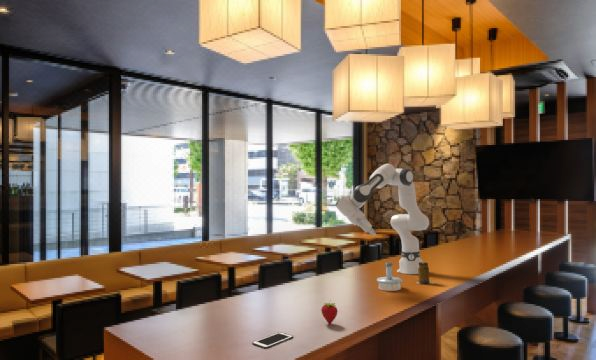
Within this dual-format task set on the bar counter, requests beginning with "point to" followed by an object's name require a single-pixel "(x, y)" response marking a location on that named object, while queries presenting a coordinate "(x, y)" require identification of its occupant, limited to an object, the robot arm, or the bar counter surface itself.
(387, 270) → the lid
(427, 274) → the condiment
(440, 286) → the bar counter surface
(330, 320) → the strawberry
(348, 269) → the bar counter surface
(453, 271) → the bar counter surface
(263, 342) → the cell phone
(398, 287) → the bowl
